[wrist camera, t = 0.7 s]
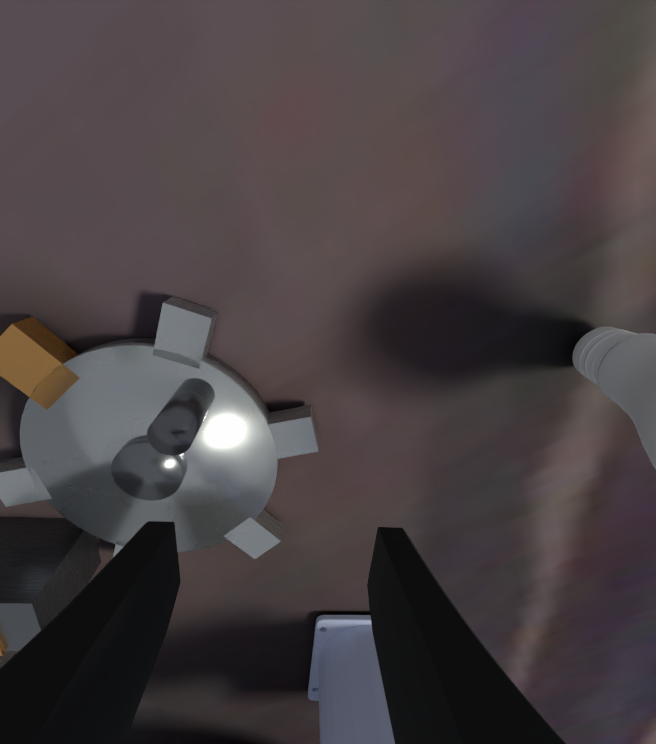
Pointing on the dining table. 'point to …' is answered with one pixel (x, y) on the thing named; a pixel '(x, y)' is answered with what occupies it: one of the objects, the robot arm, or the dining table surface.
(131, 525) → the sprocket
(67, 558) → the banded cube
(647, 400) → the lightbulb
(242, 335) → the dining table surface
